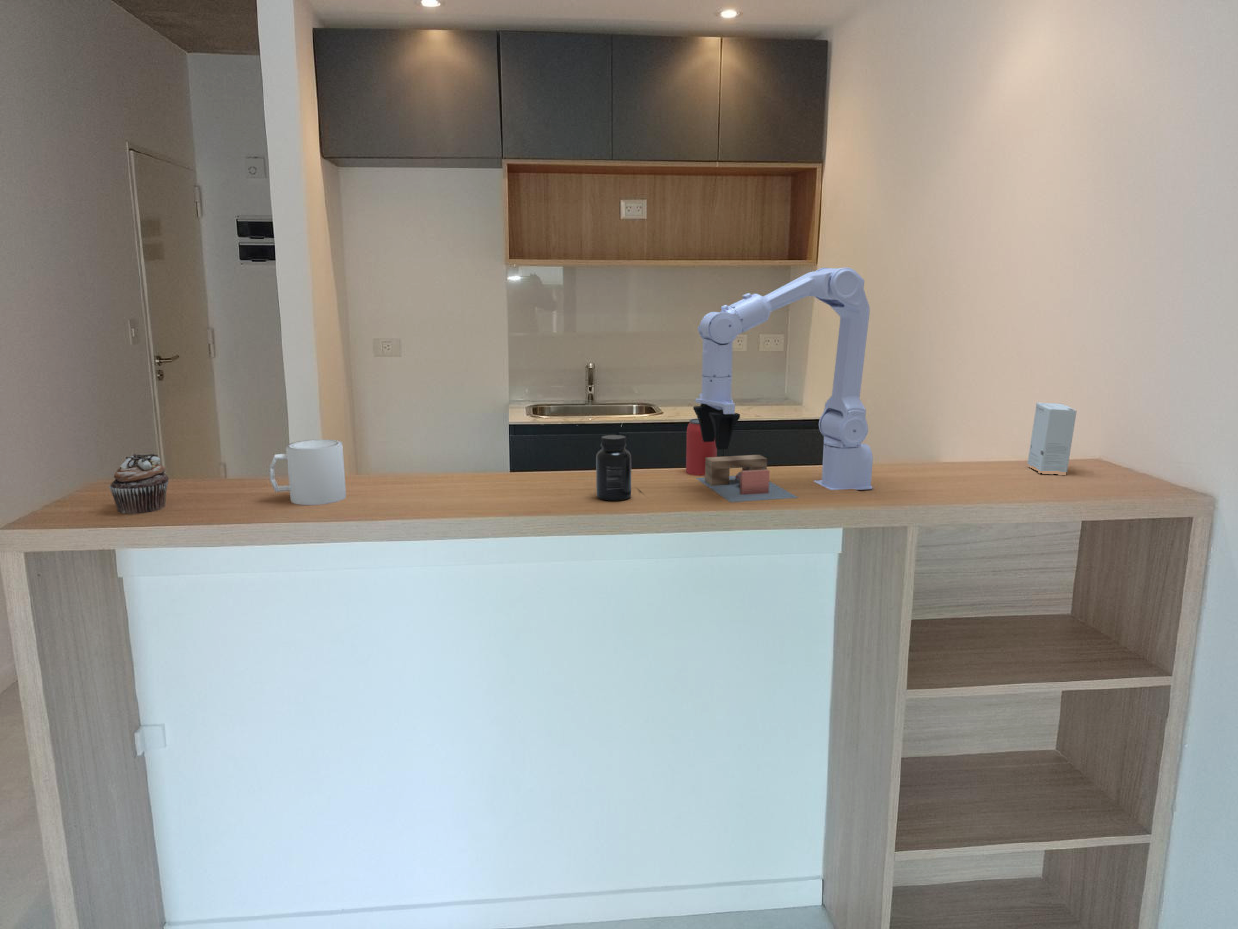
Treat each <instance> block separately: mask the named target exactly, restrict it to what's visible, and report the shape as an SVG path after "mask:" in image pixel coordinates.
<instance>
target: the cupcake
mask: <svg viewBox="0 0 1238 929" xmlns="http://www.w3.org/2000/svg"><path fill="white" fill-rule="evenodd" d="M158 456H159V455H158V454H154V453H152V454H137V453H133V454H132V456H125V460H124V462H122V464H120V465H119V467H118V469H117V471H115V473H114V475H113V478H114V480H113V481H112V482H111V483H110V484H109V485H108V488H109V489H110V492H111V495H112V498H113V500H114V503H115V507H116V510H117V512H118V513H120V514H124V515H126V514H127V515H136V514H146V513H152V512H157V511H159V510H162V509H163V508H165V506H166V501H167V489H168V484H169V476H168V475H167V474H166V468H165V467H164V466H163V465H162V464H161V458H160V457H158Z"/></svg>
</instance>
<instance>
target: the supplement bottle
mask: <svg viewBox="0 0 1238 929" xmlns="http://www.w3.org/2000/svg"><path fill="white" fill-rule="evenodd" d="M600 439H601V440H600V447H601V449H600V450H598V452H597V453H596V457H595V467H596V468H595V473H596V478H595V479H596V485H595V486H596V497H597V498H598V499H600V500H602V501H609V502H611V501H613V502H617V501H625V500H628V499H629V498H630V497H631V496H632V453H630V451H629V450H627V449H626V447H627V443H626V442H627V437H626V436H624V435H620V434H619V435H616V434H608V435H603V436H601V438H600Z"/></svg>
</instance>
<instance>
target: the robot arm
mask: <svg viewBox="0 0 1238 929" xmlns="http://www.w3.org/2000/svg"><path fill="white" fill-rule="evenodd" d="M864 288H865V279H864V278H863V277H862V276H861V275H860V274H859V273H858V272H857V271H856V270H855V269H853V268H851V267H847V266H846V267H840V268H839V267H838V268H830V267H820V268H819V269H817V270H816V271H815V270H813V271H810V272H807V273H805V274H803V275H801V276H799V277H798V278H796V279H793V280H792V281H790V282H788V283H786V284H784V285H782V286H780V287H779V288H777V289H775V290H773V291H772V292H768V293H767V294H766V295H760V294H758V293H752V294H751V293H749V292H748V293H745V294H743V295H742V299H741V300H737V301H736V302H734V303H732V304H730V305H728V304H724V305H722V306H720V307H721V308H720V309H721V310H720V312H719V311H710V312H708V313H707V314H705V315H704V316H703V318H702V319H701V320H700V323H699V326H697V330H698V335H699V336H700V338H701V339H702V355H701V356H702V362H701V365H702V366H701V393H699V394H698V398H695V403H697V404H700V405H695V406H693V407H692V409H693V411H694V413H695V415H696V419H697V418H698V420H699V424H700V429H701V434H702V439H703V442H714V440H715V444H716V448H717V451H718V450H728V449H729V446H730V442H731V439H732V436H733V435H732V434H733V432H734V429H735V426H736V425H737V422H738V421H739V420H740V418H741V413H738V412H736V403H735V402H734V400H733V398H732V386H733V385H732V384H733V383H732V382H733V345H734V344H733V342H734V341H735V340H736V338H737V337H738V335H741V334H743V333H745V332H747V331H749V330H751V329H754V328H755V327H757V326H759V325H762V324H764V323H765V322H767V321H768V320H769V318H770V317H771V316H770V315H771V313H772V312H774V311H776V310H778V309H780V308H783V307H786V306H787V305H789V304H792V303H795V302H797V301H799V300H802V299H804V298H806V297H814V298H816V299H817V300H818V301H821V303H822V302H823V303H824V304H826V305H828V306H830V308H831V309H832V310H833V311H834V312H835V313H836V314H837V315H838V316H839V329H838V335H837V336H838V338H837V345H836V346H837V348H836V354H835V355H836V356H835V365H834V372H833V373H834V374H833V381H832V382H833V384H832V391H831V396H830V397H828V399H827V401H825V402H824V403H825V404H824V408H823V412H822V414H821V416H820V417H819V421H818V429H819V431H820V433H821V435H822V436H823V451H822V452H823V454H822V469H821V479H819V480H813V482H814V483H816V484H818V485H820V486H821V487H823V488H826V489H828V490H831V491H835V490H836V491H839V490H852V489H853V490H856V491H861V490H862V491H863V490H865V491H866V490H873V486H872V476H873V475H872V474H873V473H872V472H873V459H874V458H873V453H872V449H871V447H870V445H868V444H867V443H863V442H864V441H865V440H866V438H867V435H868V433H869V425H868V422H867V419H866V414H867V412H866V411H867V410H866V407H865V404H863V402H862V400H861V398H860V397H861V390H862V388H861V387H862V379H863V371H864V364H865V356H866V355H865V354H866V346H867V336H868V331H869V330H868V328H869V321H870V312H871V308H870V304H869V302H868V299H867V296H866V292H865V289H864Z"/></svg>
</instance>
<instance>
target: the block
mask: <svg viewBox="0 0 1238 929" xmlns="http://www.w3.org/2000/svg"><path fill="white" fill-rule="evenodd" d="M739 468H741V471H748V470H765V469H767V470H768V458H767V457H765V456H763V455H761V454H750V455H749V454H748V455H731V456H727V455H725V456H717V457H706V458H705V476H704V478H705V481H706V482H707V483H708V484H710V485H711V486H713V485H729V476H730V471H731V470H730V469H739Z"/></svg>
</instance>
